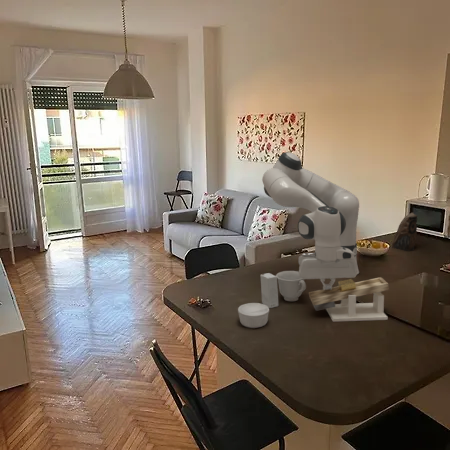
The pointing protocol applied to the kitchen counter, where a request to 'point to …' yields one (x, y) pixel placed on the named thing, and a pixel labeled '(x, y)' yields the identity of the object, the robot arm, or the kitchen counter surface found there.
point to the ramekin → (253, 314)
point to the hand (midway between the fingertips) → (327, 289)
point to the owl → (406, 233)
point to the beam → (346, 293)
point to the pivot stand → (358, 309)
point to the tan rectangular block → (346, 285)
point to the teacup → (290, 285)
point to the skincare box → (269, 290)
